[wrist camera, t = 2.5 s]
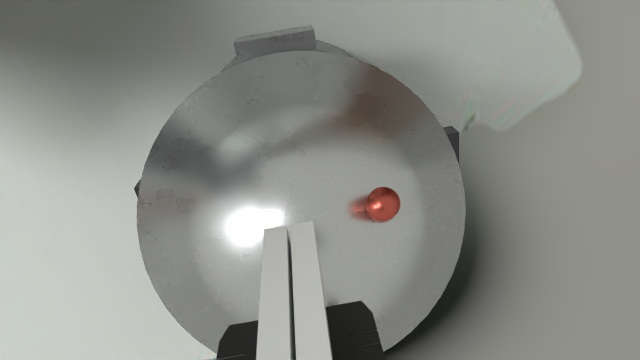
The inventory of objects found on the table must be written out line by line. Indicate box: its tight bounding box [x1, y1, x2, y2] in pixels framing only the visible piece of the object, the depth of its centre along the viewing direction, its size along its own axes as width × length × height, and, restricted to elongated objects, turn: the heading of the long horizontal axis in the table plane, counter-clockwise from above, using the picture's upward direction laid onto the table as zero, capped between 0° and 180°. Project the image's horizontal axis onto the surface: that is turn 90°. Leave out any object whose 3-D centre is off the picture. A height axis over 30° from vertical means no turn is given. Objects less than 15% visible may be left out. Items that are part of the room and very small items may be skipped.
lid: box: [137, 51, 466, 353], centre depth 26 cm, size 21×28×3 cm
